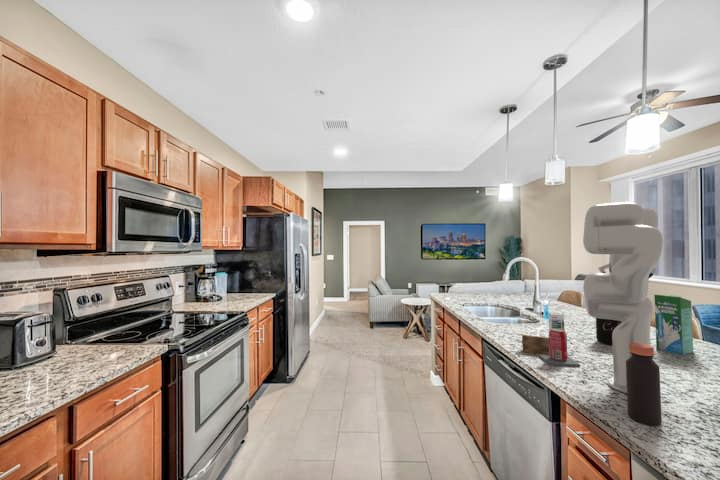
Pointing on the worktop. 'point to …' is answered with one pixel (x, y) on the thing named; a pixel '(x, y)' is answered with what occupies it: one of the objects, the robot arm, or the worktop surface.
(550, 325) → the syrup box
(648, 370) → the bottle
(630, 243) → the robot arm
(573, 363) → the mat
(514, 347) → the worktop surface
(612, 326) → the coffee jar
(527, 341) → the brown wooden block
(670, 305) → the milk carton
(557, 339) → the beverage can
